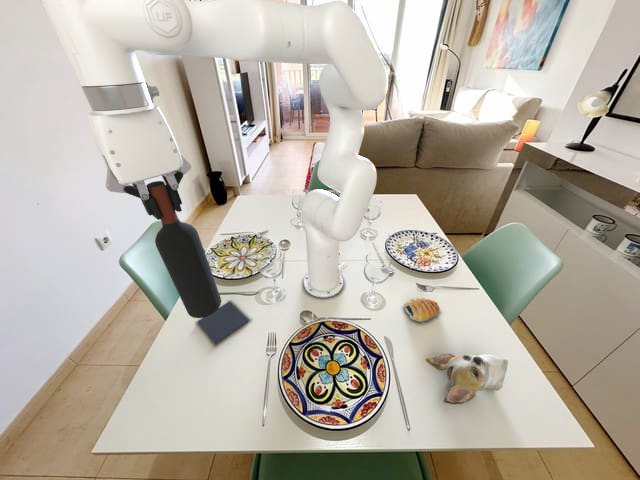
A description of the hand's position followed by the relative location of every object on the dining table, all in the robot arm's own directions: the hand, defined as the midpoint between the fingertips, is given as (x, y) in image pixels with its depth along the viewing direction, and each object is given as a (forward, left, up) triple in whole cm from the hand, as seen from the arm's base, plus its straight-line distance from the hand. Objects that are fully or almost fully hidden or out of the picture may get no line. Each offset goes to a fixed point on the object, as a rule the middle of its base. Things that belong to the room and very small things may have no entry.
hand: (166, 212), depth 48 cm
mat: (-4, -4, -38) cm, 38 cm away
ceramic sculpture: (-33, +50, -38) cm, 71 cm away
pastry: (-44, +34, -38) cm, 67 cm away
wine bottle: (0, 0, -25) cm, 25 cm away
